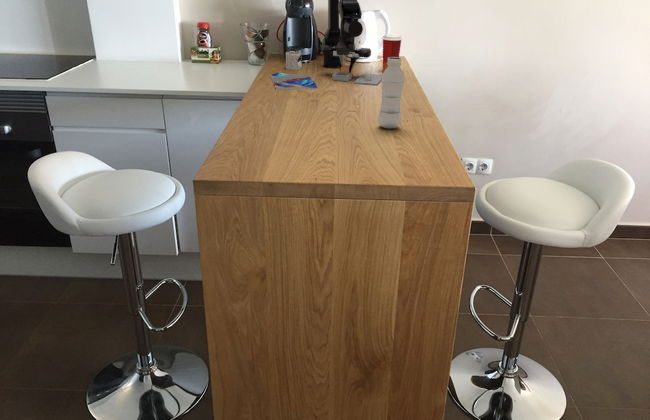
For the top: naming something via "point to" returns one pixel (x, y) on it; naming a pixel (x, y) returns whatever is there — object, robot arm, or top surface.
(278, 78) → the multicolored flat slab
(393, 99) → the plastic bottle
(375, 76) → the keeper
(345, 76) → the square frame with handle
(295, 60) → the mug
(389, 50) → the coffee cup
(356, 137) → the top surface
